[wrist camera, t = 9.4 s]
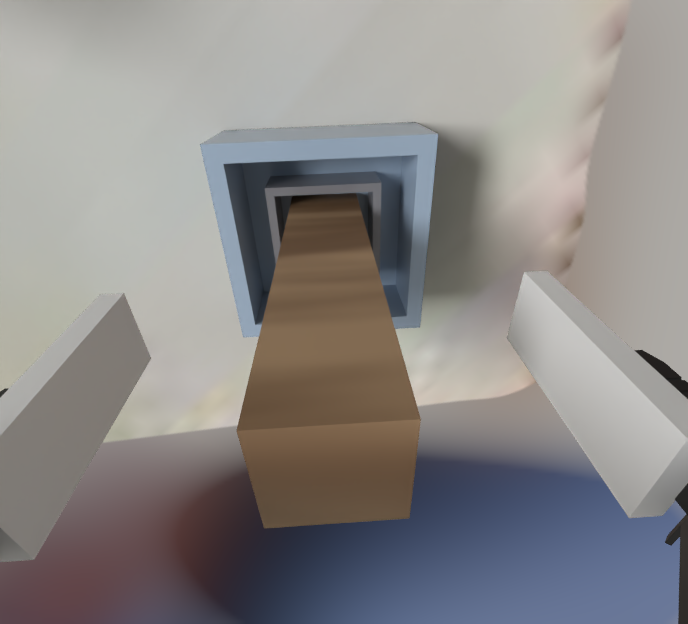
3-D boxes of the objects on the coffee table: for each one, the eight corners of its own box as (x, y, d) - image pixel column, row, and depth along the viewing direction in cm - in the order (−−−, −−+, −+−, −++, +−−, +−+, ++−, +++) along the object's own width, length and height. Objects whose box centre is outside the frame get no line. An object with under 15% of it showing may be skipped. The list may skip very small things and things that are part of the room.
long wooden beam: (292, 196, 20) (236, 430, 7) (355, 192, 21) (420, 419, 7) (298, 254, 22) (264, 528, 9) (356, 251, 22) (409, 518, 9)
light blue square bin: (223, 130, 19) (199, 144, 16) (415, 122, 20) (438, 133, 16) (255, 296, 25) (243, 337, 21) (405, 288, 25) (420, 327, 21)
